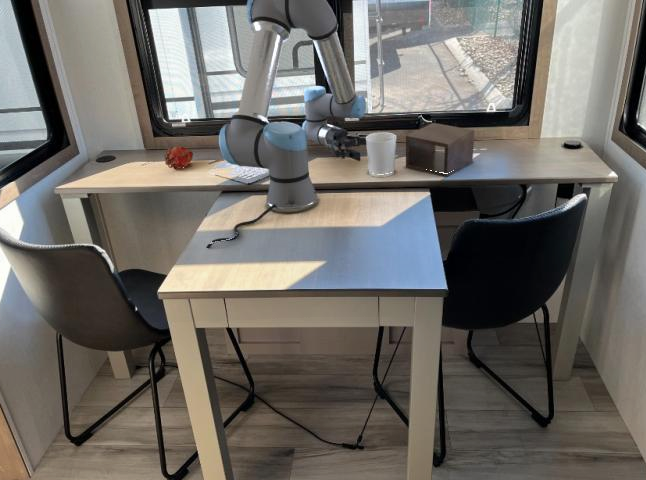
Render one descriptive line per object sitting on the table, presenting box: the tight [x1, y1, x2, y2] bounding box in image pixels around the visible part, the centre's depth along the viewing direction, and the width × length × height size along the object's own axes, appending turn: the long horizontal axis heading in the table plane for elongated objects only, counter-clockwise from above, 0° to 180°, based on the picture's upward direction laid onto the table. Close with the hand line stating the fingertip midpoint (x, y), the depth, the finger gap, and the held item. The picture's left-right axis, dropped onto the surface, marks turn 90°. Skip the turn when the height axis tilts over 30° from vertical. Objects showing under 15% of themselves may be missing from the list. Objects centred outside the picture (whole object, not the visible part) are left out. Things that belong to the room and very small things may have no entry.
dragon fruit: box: [164, 144, 194, 170], centre depth 209 cm, size 8×8×12 cm
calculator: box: [209, 161, 270, 181], centre depth 202 cm, size 13×20×2 cm, turn 51°
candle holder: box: [365, 131, 397, 178], centre depth 192 cm, size 10×10×12 cm
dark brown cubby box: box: [405, 122, 476, 178], centre depth 195 cm, size 16×16×11 cm
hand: (375, 151), depth 194 cm, fingers open, 13 cm apart
